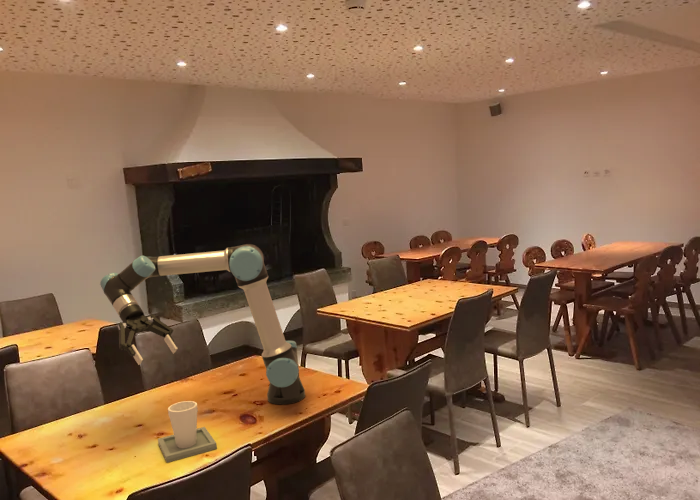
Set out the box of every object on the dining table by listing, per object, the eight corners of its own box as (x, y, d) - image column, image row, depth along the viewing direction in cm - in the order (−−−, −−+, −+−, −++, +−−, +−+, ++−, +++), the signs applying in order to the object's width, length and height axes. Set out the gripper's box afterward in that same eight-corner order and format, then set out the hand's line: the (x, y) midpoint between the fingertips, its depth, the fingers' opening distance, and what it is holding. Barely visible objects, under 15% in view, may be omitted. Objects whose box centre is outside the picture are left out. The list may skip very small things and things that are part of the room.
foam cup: (188, 435, 197) (184, 399, 196) (206, 440, 192) (203, 403, 191) (166, 446, 190) (161, 409, 188) (184, 452, 184) (180, 413, 183)
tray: (205, 432, 202) (204, 426, 201) (216, 448, 188) (216, 443, 187) (158, 444, 194) (157, 438, 194) (166, 462, 180) (166, 456, 180)
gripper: (155, 309, 214) (184, 353, 206) (92, 325, 194) (121, 373, 187) (162, 296, 210) (192, 340, 202) (98, 310, 190) (128, 360, 183)
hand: (158, 356), depth 194 cm, fingers open, 13 cm apart
